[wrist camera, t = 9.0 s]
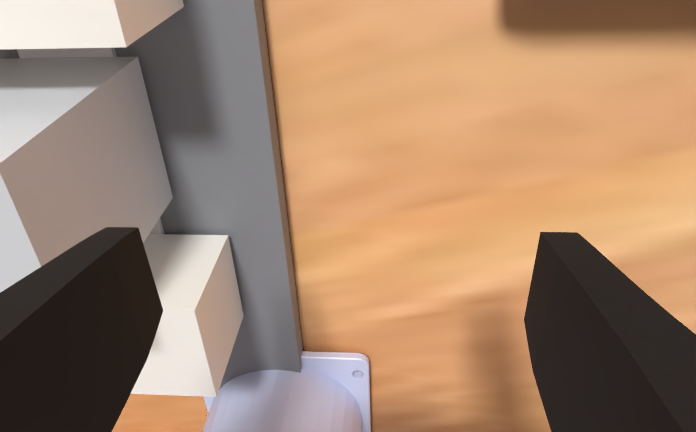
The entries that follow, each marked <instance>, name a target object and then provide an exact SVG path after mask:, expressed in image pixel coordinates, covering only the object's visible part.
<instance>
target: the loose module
mask: <svg viewBox="0 0 696 432" xmlns="http://www.w3.org/2000/svg"><path fill="white" fill-rule="evenodd" d="M172 198H173V196H172V192H171V188H170V184H169V180H168V176H167V172H166V168H165V164H164V160H163V155H162V151H161V147H160V143H159V139H158V135H157V131H156V127H155V123H154V119H153V115H152V111H151V107H150V103H149V99H148V95H147V91H146V87H145V83H144V79H143V75H142V71H141V67H140V63H139V59H138V57H72V58H4V59H0V292H2V291H4V290H5V289H7V288H8V287H10V286H12V285H13V284H15V283H16V282H18V281H19V280H21V279H23V278H24V277H26V276H27V275H29V274H30V273H32V272H34V271H35V270H37V269H38V268H40V267H41V266H43V265H45V264H46V263H48V262H49V261H51V260H52V259H54V258H55V257H57V256H59V255H60V254H62V253H63V252H65V251H67V250H68V249H70V248H71V247H73V246H74V245H76V244H78V243H79V242H81V241H83V240H84V239H86V238H88V237H89V236H91V235H93V234H95V233H96V232H98V231H100V230H102V229H104V228H106V227H138V228H139V231H140V234H141V238H142V241H143V243H144V241H145V240H146V238H147V237H148V235H149V233H150V232H151V230H152V229H153V227H154V226H155V224H156V223H157V221H158V220H159V218H160V217H161V215H162V214H163V212H164V211H165V209H166V208H167V206H168V205H169V203H170V201H171V200H172Z"/></svg>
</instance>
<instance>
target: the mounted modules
mask: <svg viewBox="0 0 696 432" xmlns="http://www.w3.org/2000/svg"><path fill="white" fill-rule="evenodd" d="M183 7H184V4H183V0H0V49H59V48H118V47H128V46H129V45H130V44H132V43H133V42H135V41H136V40H137V39H139V38H140V37H142V36H143V35H145V34H146V33H147V32H149V31H150V30H152V29H153V28H154V27H156V26H157V25H159V24H160V23H162V22H163V21H164V20H166V19H167V18H169V17H170V16H171V15H173V14H174V13H176V12H177V11H179V10H180V9H181V8H183ZM143 244H144V248H145V251H146V254H147V258H148V261H149V264H150V268H151V271H152V274H153V278H154V281H155V284H156V288H157V291H158V294H159V298H160V301H161V305H162V308H163V313H162V316H161V319H160V323H159V326H158V329H157V332H156V335H155V338H154V341H153V344H152V347H151V350H150V353H149V355H148V358H147V360H146V363H145V365H144V367H143V369H142V371H141V373H140V375H139V377H138V379H137V381H136V383H135V385H134V387H133V390H132V392H131V394H156V395H182V396H208V397H217V394H218V391H219V388H220V385H221V382H222V379H223V376H224V373H225V370H226V367H227V364H228V361H229V358H230V355H231V352H232V349H233V346H234V343H235V340H236V337H237V334H238V331H239V328H240V325H241V322H242V319H243V316H244V315H243V310H242V305H241V299H240V294H239V289H238V284H237V279H236V273H235V268H234V263H233V258H232V253H231V248H230V242H229V237H228V235H175V234H149V235H148V237H147V238H146V240H145V241H144V243H143Z"/></svg>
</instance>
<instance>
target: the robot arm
mask: <svg viewBox="0 0 696 432" xmlns="http://www.w3.org/2000/svg"><path fill="white" fill-rule="evenodd" d="M162 313H163V308H162V305H161V301H160V298H159V294H158V291H157V288H156V284H155V281H154V278H153V274H152V271H151V268H150V264H149V261H148V258H147V254H146V251H145V248H144V244H143V241H142V238H141V234H140V231H139V228H138V227H106V228H104V229H102V230H100V231H98V232H96V233H95V234H93V235H91V236H89V237H88V238H86V239H84V240H83V241H81V242H79V243H78V244H76V245H74V246H73V247H71V248H70V249H68V250H67V251H65V252H63V253H62V254H60V255H59V256H57V257H55V258H54V259H52V260H51V261H49V262H48V263H46V264H45V265H43V266H41V267H40V268H38V269H37V270H35V271H34V272H32V273H30V274H29V275H27V276H26V277H24V278H23V279H21V280H19V281H18V282H16V283H15V284H13V285H12V286H10V287H8V288H7V289H5V290H4V291H2V292H0V432H112V430H113V428H114V426H115V424H116V422H117V420H118V418H119V416H120V414H121V412H122V410H123V408H124V406H125V404H126V402H127V400H128V398H129V396H130V394H131V392H132V390H133V387H134V385H135V383H136V381H137V379H138V377H139V375H140V373H141V371H142V369H143V367H144V365H145V363H146V360H147V358H148V355H149V353H150V350H151V347H152V344H153V341H154V338H155V335H156V332H157V329H158V326H159V323H160V319H161V316H162ZM524 322H525V328H526V334H527V340H528V346H529V352H530V357H531V363H532V368H533V373H534V376H535V380H536V383H537V386H538V390H539V393H540V396H541V399H542V403H543V406H544V409H545V412H546V416H547V419H548V422H549V425H550V428H551V432H696V334H694V333H693V332H692V331H691V330H689V329H688V328H687V327H686V326H684V325H683V324H682V323H681V322H679V321H678V320H677V319H676V318H674V317H673V316H672V315H671V314H670V313H668V312H667V311H666V310H665V309H664V308H662V307H661V306H660V305H659V304H658V303H657V302H655V301H654V300H653V299H652V298H651V297H650V296H648V295H647V294H646V293H645V292H644V291H643V290H642V289H640V288H639V287H638V286H637V285H636V284H635V283H634V282H632V281H631V280H630V279H629V278H628V277H627V276H626V275H625V274H623V273H622V272H621V271H620V270H619V269H618V268H617V267H616V266H615V265H613V264H612V263H611V262H610V261H609V260H608V259H607V258H606V257H605V256H603V255H602V254H601V253H600V252H599V251H598V250H597V249H596V248H595V247H593V246H592V245H591V244H590V243H589V242H588V241H587V240H585V239H584V238H583V237H582V236H581V235H580V234H578V233H570V232H541V233H540V238H539V243H538V249H537V254H536V259H535V265H534V270H533V275H532V280H531V286H530V291H529V296H528V302H527V307H526V312H525V318H524ZM301 363H302V368H301V373H298V372H294V371H285V370H262V371H256V372H250V373H247V374H244V375H241V376H238V377H236V378H234V379H232V380H231V381H229V382H227V383H226V384H225V385H224V386H223V387H221V388H220V389H219V391H218V394H217V397H208V396H203V397H204V401H205V404H206V408H207V412H208V416H207V419H206V422H205V425H204V428H203V431H202V432H371V416H370V375H369V359H368V357H367V356H366V355H364V354H361V353H344V352H311V351H302V354H301ZM357 370H358V371H359V372H358V371H357Z"/></svg>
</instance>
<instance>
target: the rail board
mask: <svg viewBox="0 0 696 432" xmlns="http://www.w3.org/2000/svg"><path fill="white" fill-rule="evenodd" d="M183 4H184V7H183V8H181V9H180V10H179V11H177V12H176V13H174V14H173V15H171V16H170V17H169V18H167V19H166V20H164V21H163V22H162V23H160V24H159V25H157V26H156V27H154V28H153V29H152V30H150V31H149V32H147V33H146V34H145V35H143V36H142V37H140V38H139V39H137V40H136V41H135V42H133V43H132V44H130V45H129V46H128V47H118V48H59V49H0V59H4V58H72V57H138V59H139V63H140V67H141V71H142V75H143V79H144V83H145V87H146V91H147V95H148V99H149V103H150V107H151V111H152V115H153V119H154V123H155V127H156V131H157V135H158V139H159V143H160V147H161V151H162V155H163V160H164V164H165V168H166V172H167V176H168V180H169V184H170V188H171V192H172V196H173V198H172V200H171V201H170V203H169V205H168V206H167V208H166V209H165V211H164V212H163V214H162V215H161V217H160V218H159V220H158V221H157V223H156V224H155V226H154V227H153V229H152V230H151V232H150V233H149V234H175V235H228V237H229V242H230V248H231V253H232V258H233V263H234V268H235V273H236V279H237V284H238V289H239V294H240V299H241V305H242V310H243V315H244V316H243V319H242V322H241V325H240V328H239V331H238V334H237V337H236V340H235V343H234V346H233V349H232V352H231V355H230V358H229V361H228V364H227V367H226V370H225V373H224V376H223V379H222V382H221V385H220V388H221V387H223V386H224V385H225V384H226V383H227V382H229V381H231V380H232V379H234V378H236V377H238V376H241V375H244V374H247V373H250V372H256V371H262V370H285V371H294V372H298V373H301V368H302V363H301V354H302V351H303V345H302V336H301V328H300V319H299V311H298V302H297V294H296V285H295V277H294V268H293V260H292V251H291V243H290V234H289V226H288V217H287V209H286V200H285V192H284V183H283V175H282V166H281V158H280V149H279V141H278V132H277V124H276V115H275V107H274V98H273V90H272V81H271V73H270V64H269V56H268V47H267V39H266V30H265V22H264V13H263V5H262V0H183ZM220 388H219V389H220Z"/></svg>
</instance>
